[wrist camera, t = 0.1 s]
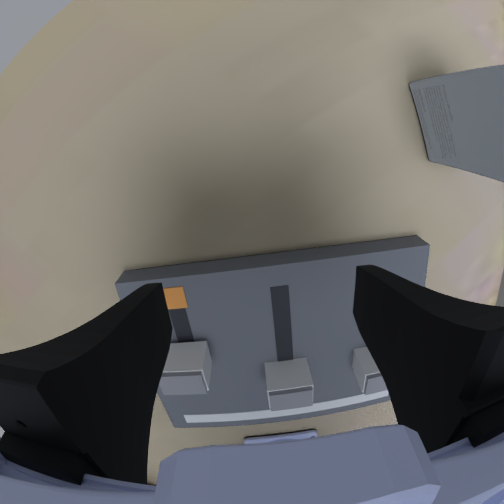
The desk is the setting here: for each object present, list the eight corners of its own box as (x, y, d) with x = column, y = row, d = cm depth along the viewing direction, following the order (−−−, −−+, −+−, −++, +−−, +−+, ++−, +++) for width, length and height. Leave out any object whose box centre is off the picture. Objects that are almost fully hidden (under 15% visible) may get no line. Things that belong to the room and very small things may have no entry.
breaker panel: (392, 384, 27) (411, 422, 22) (177, 412, 28) (169, 455, 23) (416, 235, 21) (455, 264, 16) (124, 271, 22) (96, 310, 17)
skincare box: (466, 149, 19) (590, 185, 7) (424, 163, 19) (555, 208, 8) (447, 72, 16) (574, 63, 5) (401, 80, 17) (535, 60, 6)
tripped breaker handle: (212, 361, 22) (208, 394, 19) (171, 363, 22) (162, 396, 19) (206, 340, 21) (201, 374, 18) (163, 343, 21) (153, 375, 18)
